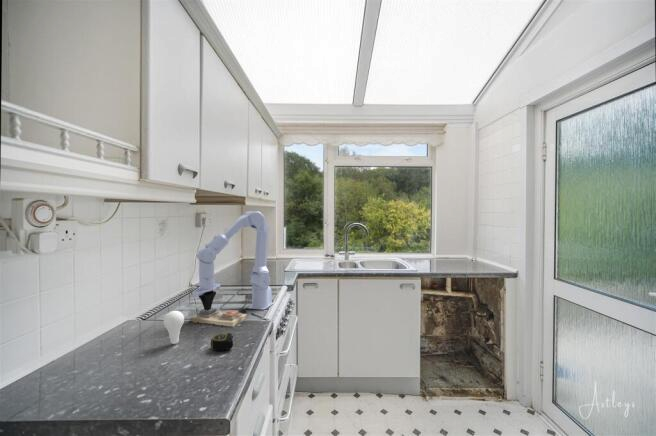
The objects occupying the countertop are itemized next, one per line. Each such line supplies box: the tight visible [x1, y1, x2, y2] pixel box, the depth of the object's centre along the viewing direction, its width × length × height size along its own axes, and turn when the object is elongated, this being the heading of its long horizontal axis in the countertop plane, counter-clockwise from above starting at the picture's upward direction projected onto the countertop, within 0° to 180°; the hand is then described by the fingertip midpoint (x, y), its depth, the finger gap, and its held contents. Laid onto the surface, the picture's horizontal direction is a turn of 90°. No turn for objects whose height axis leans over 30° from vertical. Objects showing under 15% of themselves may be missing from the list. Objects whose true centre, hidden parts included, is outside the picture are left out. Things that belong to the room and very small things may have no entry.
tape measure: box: [210, 332, 234, 352], centre depth 97 cm, size 7×7×4 cm
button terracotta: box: [222, 309, 239, 318], centre depth 120 cm, size 4×4×2 cm
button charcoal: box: [199, 307, 217, 315], centre depth 124 cm, size 4×4×2 cm
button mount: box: [189, 309, 248, 328], centre depth 122 cm, size 10×20×2 cm, turn 73°
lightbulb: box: [163, 310, 185, 345], centre depth 100 cm, size 6×6×11 cm
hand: (207, 310), depth 124 cm, fingers closed, pressing on button charcoal
